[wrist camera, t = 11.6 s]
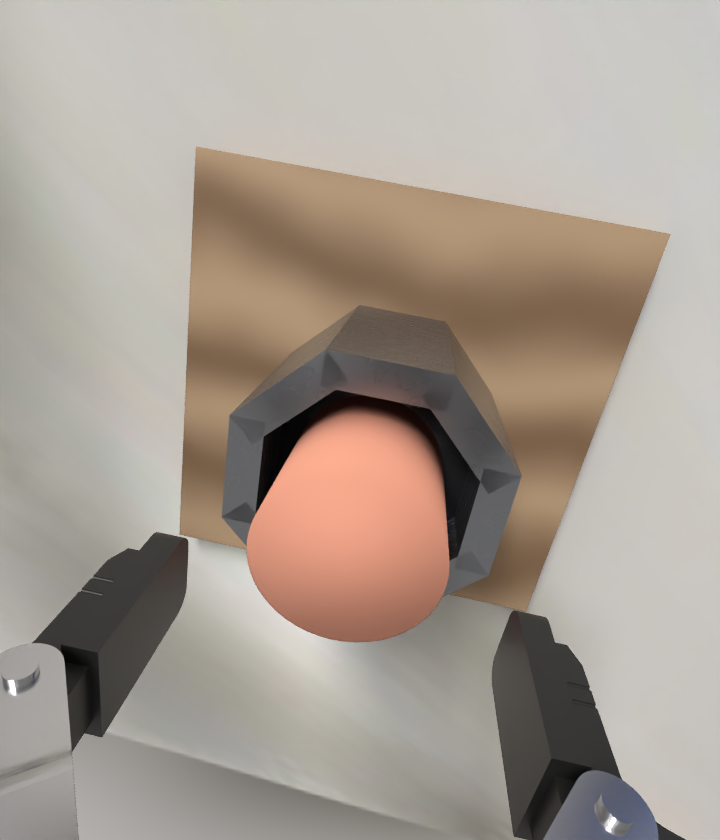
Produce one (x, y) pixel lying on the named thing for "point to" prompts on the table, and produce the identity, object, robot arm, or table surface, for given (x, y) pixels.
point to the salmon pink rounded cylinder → (355, 524)
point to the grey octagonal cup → (395, 381)
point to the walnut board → (415, 295)
